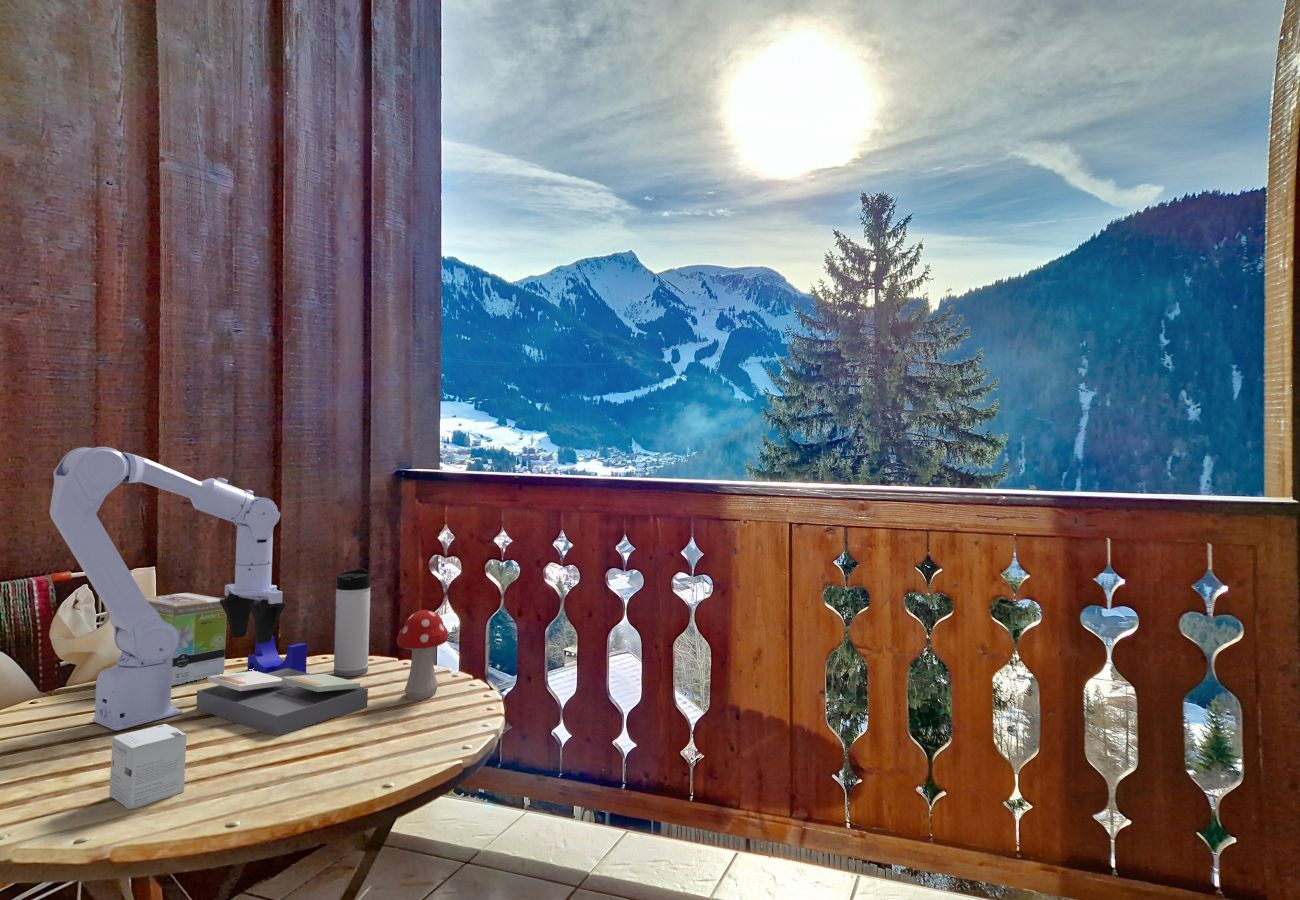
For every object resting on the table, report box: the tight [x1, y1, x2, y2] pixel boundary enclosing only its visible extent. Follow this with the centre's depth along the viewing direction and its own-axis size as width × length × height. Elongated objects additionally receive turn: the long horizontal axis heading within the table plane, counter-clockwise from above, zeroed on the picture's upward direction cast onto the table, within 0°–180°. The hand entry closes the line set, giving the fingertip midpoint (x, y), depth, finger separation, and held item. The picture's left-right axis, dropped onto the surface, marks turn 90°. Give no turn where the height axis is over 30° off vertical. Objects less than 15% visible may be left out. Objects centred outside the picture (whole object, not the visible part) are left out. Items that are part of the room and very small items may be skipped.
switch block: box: [195, 668, 369, 737], centre depth 121 cm, size 22×22×3 cm
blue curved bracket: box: [246, 635, 308, 674], centre depth 139 cm, size 12×4×6 cm, turn 60°
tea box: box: [145, 592, 227, 687], centre depth 136 cm, size 15×10×15 cm
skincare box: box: [109, 723, 188, 810], centre depth 87 cm, size 6×6×7 cm
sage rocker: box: [281, 673, 361, 692], centre depth 118 cm, size 8×10×1 cm
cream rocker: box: [207, 670, 287, 691], centre depth 119 cm, size 8×10×1 cm
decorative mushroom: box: [396, 609, 449, 701], centre depth 127 cm, size 10×9×15 cm
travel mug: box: [333, 568, 371, 678], centre depth 140 cm, size 6×7×20 cm
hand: (251, 639), depth 126 cm, fingers open, 7 cm apart
